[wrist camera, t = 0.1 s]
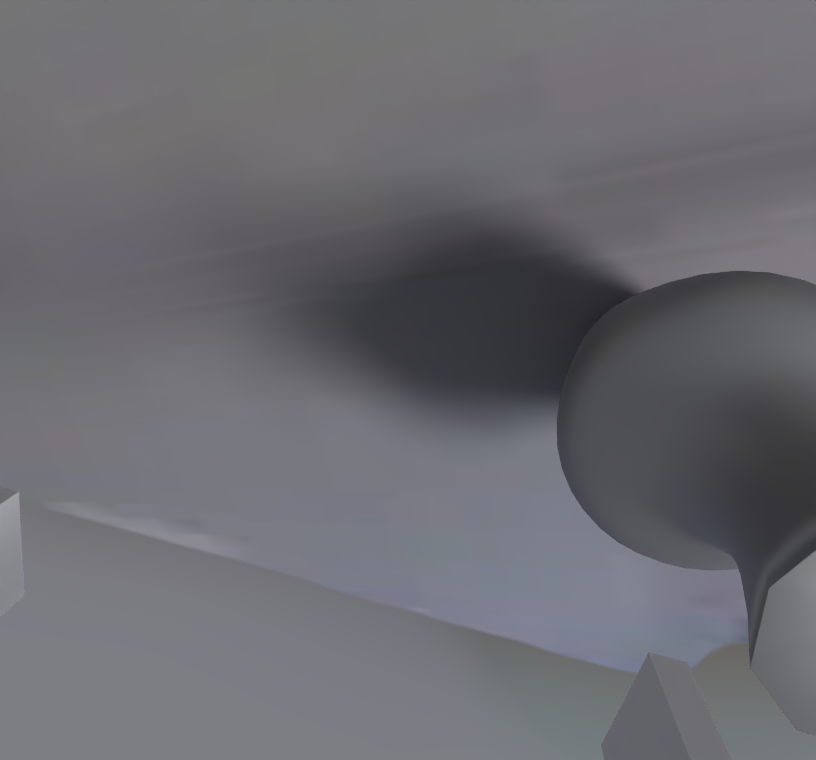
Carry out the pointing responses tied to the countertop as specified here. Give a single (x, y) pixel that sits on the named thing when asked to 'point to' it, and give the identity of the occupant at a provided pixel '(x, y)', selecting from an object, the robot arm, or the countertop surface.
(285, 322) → the countertop surface
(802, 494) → the vase
